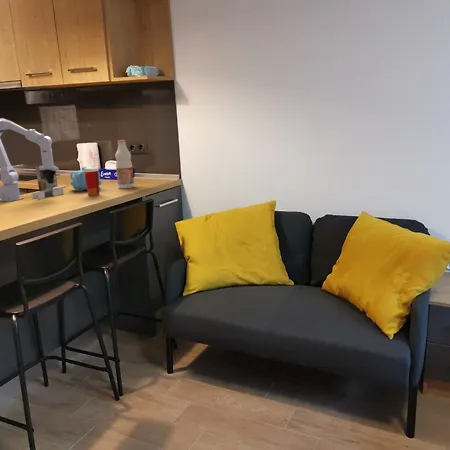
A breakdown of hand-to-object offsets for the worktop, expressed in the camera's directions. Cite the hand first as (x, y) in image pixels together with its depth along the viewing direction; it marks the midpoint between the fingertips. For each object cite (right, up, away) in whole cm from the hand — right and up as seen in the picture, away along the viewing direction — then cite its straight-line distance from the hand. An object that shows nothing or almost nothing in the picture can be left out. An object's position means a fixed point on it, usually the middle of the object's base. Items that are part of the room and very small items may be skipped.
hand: (50, 183), depth 255 cm
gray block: (-4, -7, +6) cm, 10 cm away
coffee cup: (+23, -6, +3) cm, 24 cm away
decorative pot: (+13, -2, +24) cm, 27 cm away
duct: (-4, -7, +6) cm, 10 cm away
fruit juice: (+37, 0, +24) cm, 44 cm away
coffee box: (-9, -4, +20) cm, 22 cm away
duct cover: (-1, -2, +10) cm, 10 cm away
